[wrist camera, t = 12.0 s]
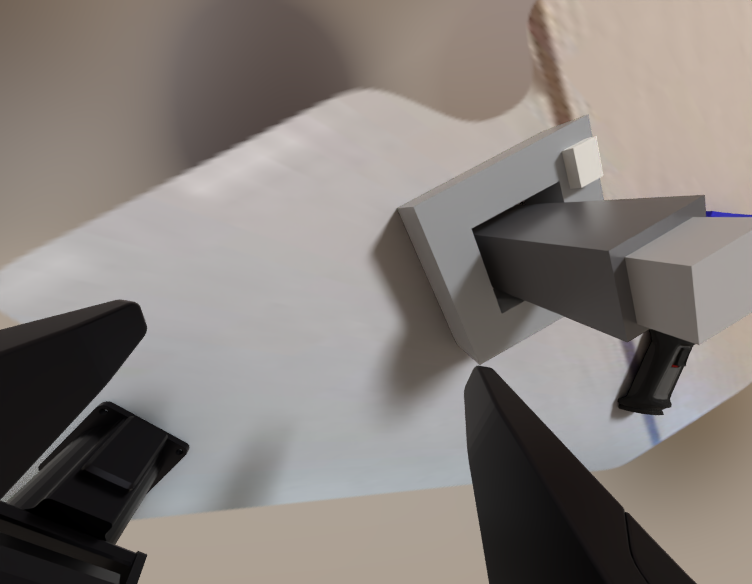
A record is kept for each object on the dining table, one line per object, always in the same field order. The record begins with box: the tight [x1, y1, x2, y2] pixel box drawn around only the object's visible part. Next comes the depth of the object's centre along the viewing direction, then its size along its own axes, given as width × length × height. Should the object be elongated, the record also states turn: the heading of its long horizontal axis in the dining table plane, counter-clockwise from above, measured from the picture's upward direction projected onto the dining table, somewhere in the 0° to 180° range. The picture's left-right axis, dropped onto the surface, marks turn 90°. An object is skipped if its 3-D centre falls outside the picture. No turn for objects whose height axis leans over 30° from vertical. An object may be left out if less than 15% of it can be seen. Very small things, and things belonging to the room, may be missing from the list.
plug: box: [472, 195, 752, 345], centre depth 15 cm, size 4×4×13 cm
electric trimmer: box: [618, 329, 695, 415], centre depth 27 cm, size 4×16×3 cm, turn 171°
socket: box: [397, 115, 604, 365], centre depth 20 cm, size 12×12×4 cm
